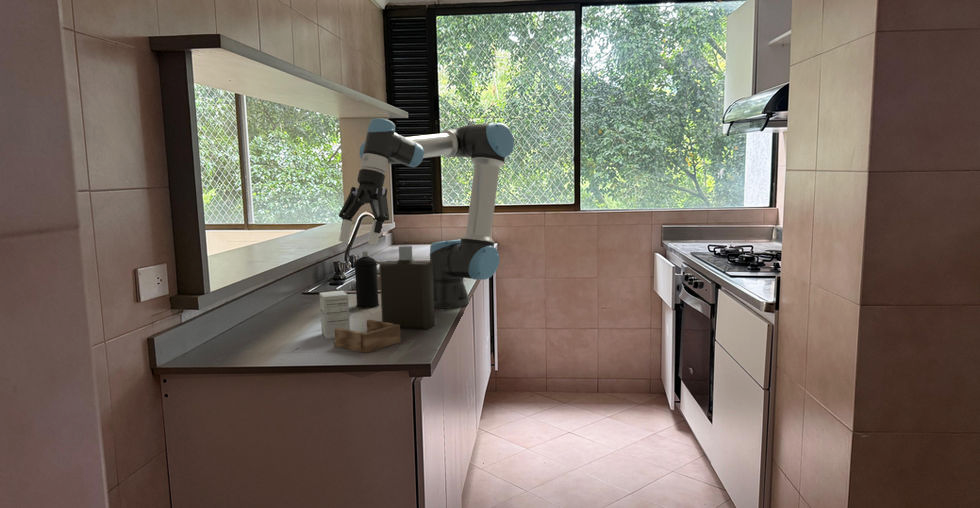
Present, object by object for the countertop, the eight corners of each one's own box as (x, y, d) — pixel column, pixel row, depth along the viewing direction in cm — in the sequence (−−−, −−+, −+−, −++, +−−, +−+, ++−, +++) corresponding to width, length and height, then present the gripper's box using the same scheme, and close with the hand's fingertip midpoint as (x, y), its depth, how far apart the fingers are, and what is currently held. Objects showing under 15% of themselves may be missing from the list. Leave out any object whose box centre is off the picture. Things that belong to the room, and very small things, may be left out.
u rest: (334, 346, 181) (333, 328, 180) (369, 335, 191) (368, 319, 190) (366, 353, 173) (365, 334, 172) (400, 342, 183) (399, 324, 183)
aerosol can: (377, 308, 230) (374, 252, 227) (353, 308, 230) (351, 252, 228) (381, 303, 238) (378, 249, 236) (358, 303, 238) (356, 249, 236)
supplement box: (321, 333, 195) (318, 292, 194) (345, 330, 198) (343, 290, 197) (325, 339, 189) (322, 296, 187) (350, 336, 191) (348, 294, 190)
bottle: (427, 330, 196) (424, 248, 193) (379, 327, 201) (375, 247, 198) (437, 324, 204) (434, 245, 201) (390, 321, 208) (386, 244, 205)
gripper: (336, 168, 193) (321, 238, 191) (390, 166, 176) (375, 242, 174) (356, 176, 199) (342, 243, 196) (410, 174, 182) (395, 248, 180)
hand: (357, 243), depth 185 cm, fingers open, 13 cm apart
